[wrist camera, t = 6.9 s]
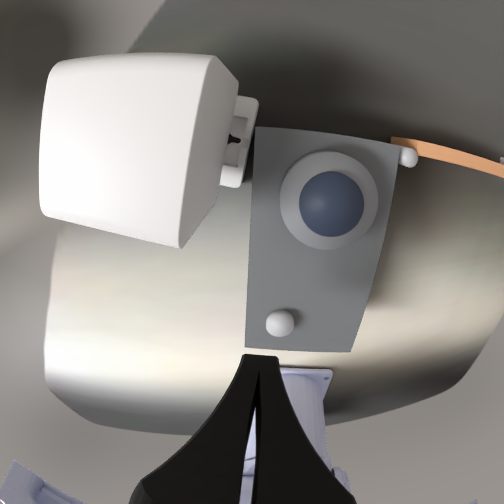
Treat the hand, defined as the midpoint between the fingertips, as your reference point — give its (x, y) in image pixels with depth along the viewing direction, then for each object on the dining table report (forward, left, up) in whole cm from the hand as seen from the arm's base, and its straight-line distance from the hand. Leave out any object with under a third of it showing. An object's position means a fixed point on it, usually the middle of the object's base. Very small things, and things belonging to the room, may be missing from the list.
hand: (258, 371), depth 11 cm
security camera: (+8, +5, -10) cm, 14 cm away
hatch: (+9, -12, -10) cm, 18 cm away
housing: (+2, -2, -10) cm, 11 cm away
